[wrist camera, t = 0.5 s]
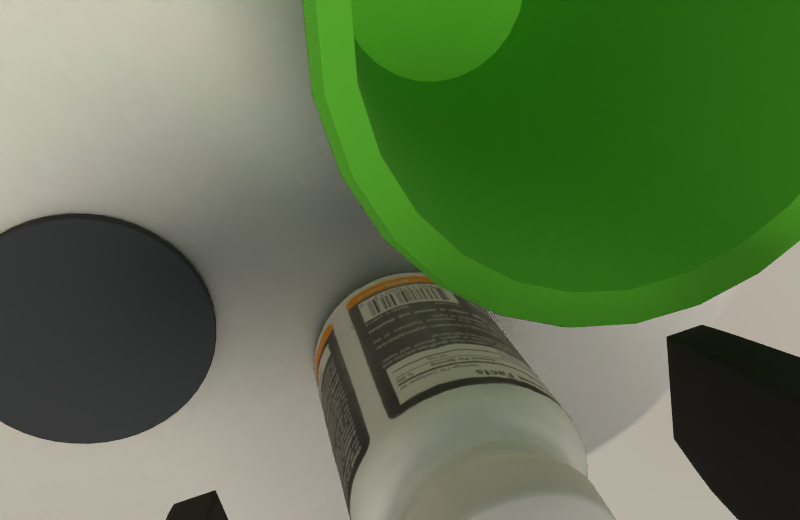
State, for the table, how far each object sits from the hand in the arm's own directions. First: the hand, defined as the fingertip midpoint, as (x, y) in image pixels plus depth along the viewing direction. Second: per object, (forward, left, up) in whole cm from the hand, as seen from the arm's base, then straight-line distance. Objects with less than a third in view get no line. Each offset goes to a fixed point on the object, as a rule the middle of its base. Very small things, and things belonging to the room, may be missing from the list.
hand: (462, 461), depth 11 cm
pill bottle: (-5, +1, -11) cm, 12 cm away
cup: (+4, -5, -11) cm, 13 cm away
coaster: (+1, +8, -11) cm, 14 cm away
